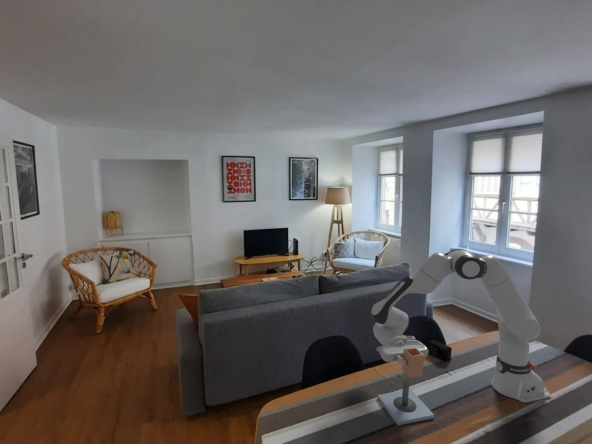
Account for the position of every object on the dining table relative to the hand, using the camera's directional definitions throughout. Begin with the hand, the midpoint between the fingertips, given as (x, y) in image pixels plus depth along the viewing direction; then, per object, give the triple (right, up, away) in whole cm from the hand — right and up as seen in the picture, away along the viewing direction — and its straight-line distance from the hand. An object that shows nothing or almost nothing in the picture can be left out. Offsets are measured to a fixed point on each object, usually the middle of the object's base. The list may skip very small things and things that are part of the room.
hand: (414, 362), depth 133 cm
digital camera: (+28, -15, +42) cm, 52 cm away
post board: (-3, -20, +3) cm, 21 cm away
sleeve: (0, -5, +2) cm, 5 cm away
